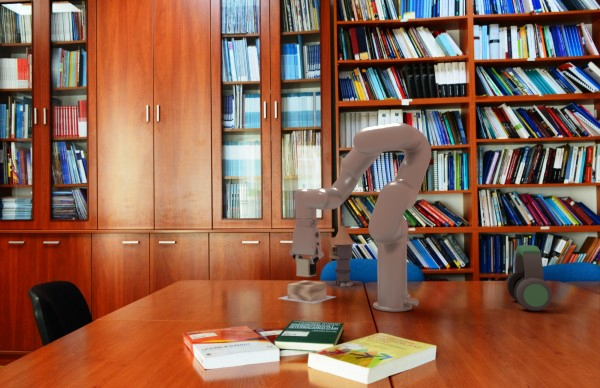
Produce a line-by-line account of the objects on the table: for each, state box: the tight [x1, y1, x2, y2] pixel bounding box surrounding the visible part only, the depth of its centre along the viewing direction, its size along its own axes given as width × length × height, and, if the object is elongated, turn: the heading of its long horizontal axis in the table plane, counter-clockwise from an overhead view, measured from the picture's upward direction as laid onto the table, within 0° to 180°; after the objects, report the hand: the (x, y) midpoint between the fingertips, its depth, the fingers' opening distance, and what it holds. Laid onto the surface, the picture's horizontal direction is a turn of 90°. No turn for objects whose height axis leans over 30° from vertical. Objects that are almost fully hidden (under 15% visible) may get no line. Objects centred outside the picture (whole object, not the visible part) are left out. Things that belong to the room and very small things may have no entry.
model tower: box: [326, 213, 355, 288], centre depth 208 cm, size 10×11×30 cm
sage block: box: [296, 257, 316, 278], centre depth 180 cm, size 5×5×6 cm
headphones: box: [506, 244, 553, 312], centre depth 165 cm, size 19×11×20 cm, turn 168°
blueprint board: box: [277, 294, 336, 304], centre depth 179 cm, size 16×14×1 cm
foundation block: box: [286, 279, 327, 302], centre depth 179 cm, size 10×10×5 cm
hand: (306, 273), depth 180 cm, fingers closed on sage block, 5 cm apart
